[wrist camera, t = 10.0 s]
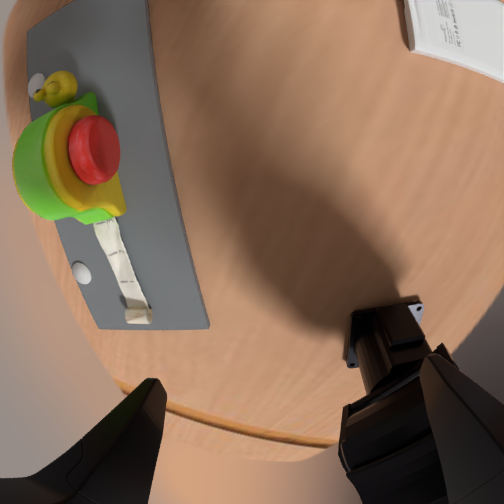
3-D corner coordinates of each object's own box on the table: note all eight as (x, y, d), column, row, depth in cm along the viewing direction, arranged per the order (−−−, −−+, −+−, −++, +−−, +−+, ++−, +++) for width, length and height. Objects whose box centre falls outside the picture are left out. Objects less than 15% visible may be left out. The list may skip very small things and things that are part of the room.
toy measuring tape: (117, 57, 14) (53, 41, 8) (178, 314, 22) (153, 377, 16) (48, 91, 14) (-17, 95, 9) (113, 316, 23) (79, 369, 17)
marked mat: (209, 324, 23) (208, 330, 22) (101, 325, 24) (98, 330, 23) (145, -29, 11) (141, -33, 10) (31, 32, 12) (25, 31, 12)
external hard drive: (520, 93, 12) (406, 53, 13) (506, 13, 9) (389, -37, 10) (532, 94, 11) (416, 49, 12) (517, 10, 7) (396, -46, 8)
